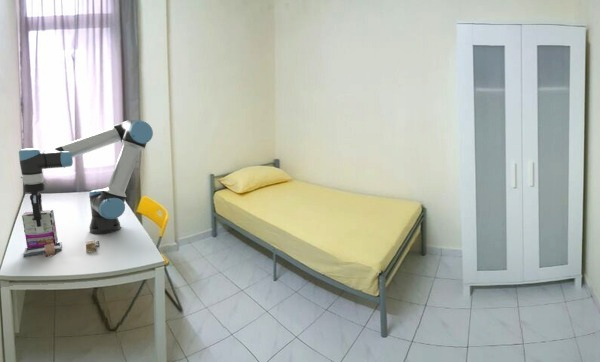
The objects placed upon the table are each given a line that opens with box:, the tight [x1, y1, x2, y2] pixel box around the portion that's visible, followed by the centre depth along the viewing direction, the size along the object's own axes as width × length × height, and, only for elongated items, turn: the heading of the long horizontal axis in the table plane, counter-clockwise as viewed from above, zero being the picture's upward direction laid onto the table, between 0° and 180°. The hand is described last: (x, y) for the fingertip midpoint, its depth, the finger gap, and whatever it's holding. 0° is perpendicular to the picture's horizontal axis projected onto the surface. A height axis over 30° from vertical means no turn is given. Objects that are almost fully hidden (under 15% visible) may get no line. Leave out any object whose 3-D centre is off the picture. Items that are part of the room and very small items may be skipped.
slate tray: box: [23, 241, 63, 258], centre depth 162 cm, size 14×8×2 cm, turn 123°
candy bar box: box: [21, 209, 59, 248], centre depth 159 cm, size 11×5×16 cm, turn 113°
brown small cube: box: [44, 243, 57, 257], centre depth 157 cm, size 4×4×5 cm
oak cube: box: [85, 240, 97, 253], centre depth 163 cm, size 4×4×4 cm
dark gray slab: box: [95, 240, 100, 248], centre depth 170 cm, size 4×6×1 cm, turn 29°
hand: (40, 230), depth 160 cm, fingers closed on candy bar box, 5 cm apart
